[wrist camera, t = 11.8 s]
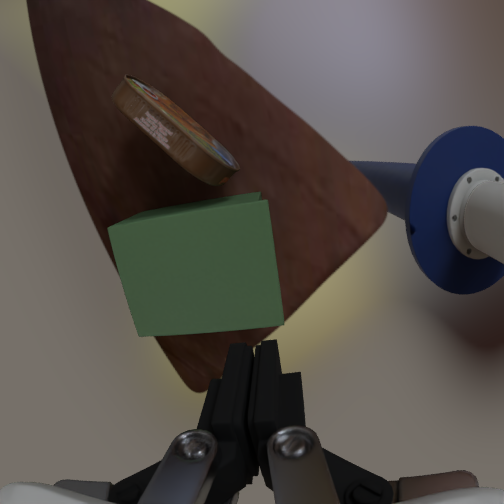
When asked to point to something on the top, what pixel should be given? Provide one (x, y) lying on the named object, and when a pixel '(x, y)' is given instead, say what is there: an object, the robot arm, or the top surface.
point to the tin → (174, 131)
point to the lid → (200, 270)
